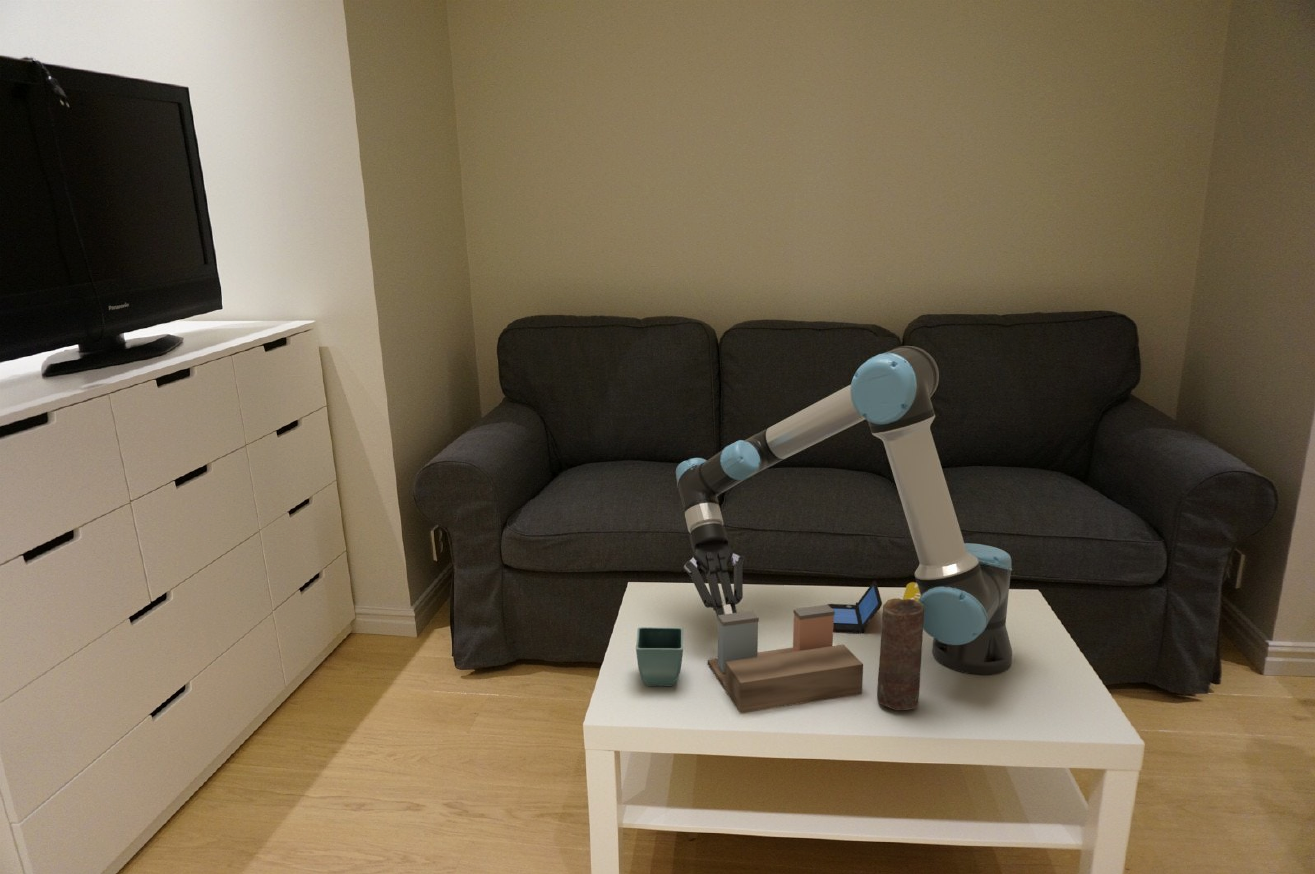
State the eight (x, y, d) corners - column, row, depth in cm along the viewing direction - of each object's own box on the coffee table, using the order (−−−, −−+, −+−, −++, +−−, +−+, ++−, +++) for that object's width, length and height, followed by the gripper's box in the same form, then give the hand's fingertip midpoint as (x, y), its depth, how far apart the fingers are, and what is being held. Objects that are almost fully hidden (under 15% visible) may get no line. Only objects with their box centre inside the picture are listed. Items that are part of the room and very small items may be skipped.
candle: (910, 720, 161) (917, 616, 156) (870, 708, 165) (875, 606, 160) (923, 701, 168) (930, 600, 163) (884, 690, 172) (890, 591, 166)
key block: (707, 664, 182) (707, 636, 180) (819, 648, 188) (820, 621, 186) (740, 713, 164) (740, 683, 163) (861, 693, 170) (863, 664, 169)
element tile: (971, 636, 193) (973, 615, 192) (898, 625, 198) (899, 605, 197) (975, 607, 206) (976, 588, 205) (906, 598, 212) (907, 578, 210)
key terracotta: (791, 658, 181) (793, 609, 178) (825, 653, 183) (827, 604, 180) (798, 666, 178) (800, 616, 175) (832, 661, 180) (834, 611, 177)
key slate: (717, 665, 178) (717, 615, 176) (751, 660, 180) (752, 610, 178) (722, 673, 175) (723, 622, 173) (757, 668, 177) (758, 617, 175)
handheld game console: (825, 608, 207) (826, 577, 205) (874, 610, 205) (876, 579, 203) (828, 633, 194) (830, 601, 193) (880, 636, 193) (882, 603, 191)
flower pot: (683, 692, 171) (683, 648, 169) (636, 692, 172) (635, 648, 169) (683, 669, 180) (683, 627, 178) (638, 668, 180) (637, 627, 178)
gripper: (731, 533, 195) (758, 640, 184) (672, 540, 192) (696, 649, 181) (740, 518, 189) (769, 627, 178) (679, 524, 186) (705, 636, 174)
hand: (732, 638), depth 179 cm, fingers closed
